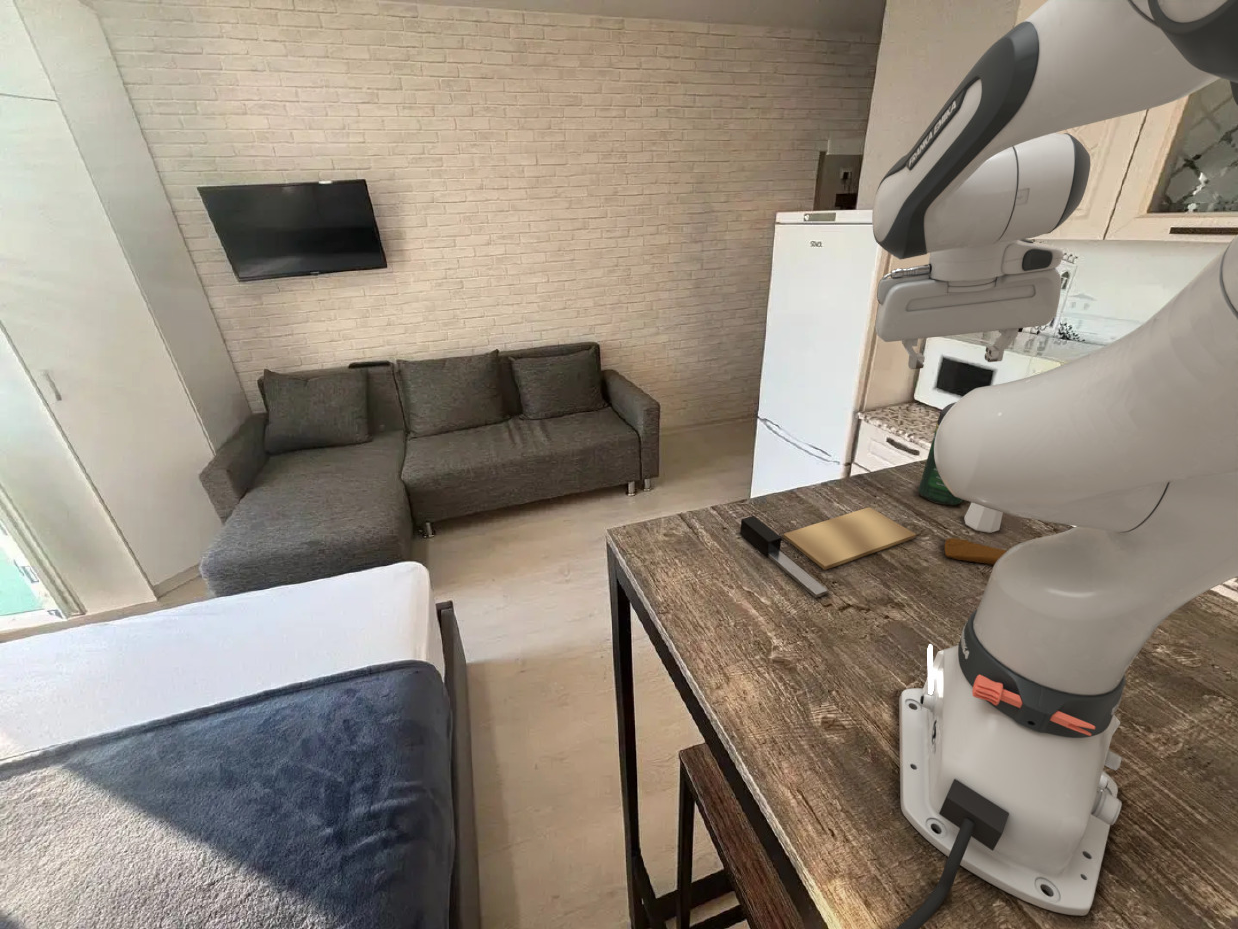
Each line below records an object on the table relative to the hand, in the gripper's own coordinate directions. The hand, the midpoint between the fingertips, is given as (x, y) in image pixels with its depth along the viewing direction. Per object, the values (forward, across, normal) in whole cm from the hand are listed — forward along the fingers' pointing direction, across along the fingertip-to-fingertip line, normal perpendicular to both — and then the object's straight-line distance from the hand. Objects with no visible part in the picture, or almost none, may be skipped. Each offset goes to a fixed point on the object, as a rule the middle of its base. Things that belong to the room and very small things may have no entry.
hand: (953, 364), depth 70 cm
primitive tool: (+33, +11, -5) cm, 35 cm away
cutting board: (+30, -12, 0) cm, 33 cm away
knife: (+28, -24, -9) cm, 38 cm away
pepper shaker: (+34, +11, +7) cm, 37 cm away
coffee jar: (+34, +8, +18) cm, 40 cm away
